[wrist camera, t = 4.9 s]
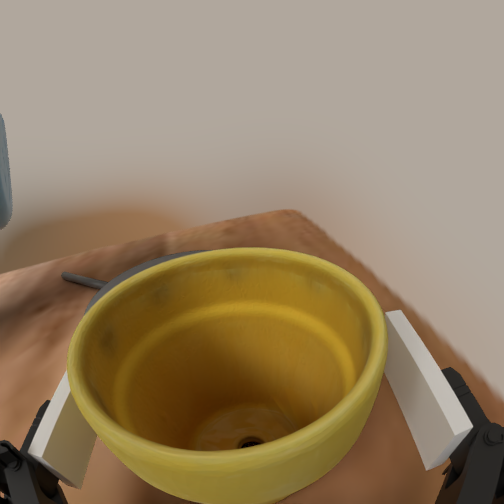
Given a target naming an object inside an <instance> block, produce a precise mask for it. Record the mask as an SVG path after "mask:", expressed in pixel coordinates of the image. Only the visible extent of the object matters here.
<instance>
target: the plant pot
mask: <svg viewBox="0 0 504 504" xmlns="http://www.w3.org/2000/svg"><path fill="white" fill-rule="evenodd" d="M387 353H388V331H387V324H386V320H385V316H384V313H383V311H382V309H381V307H380V304H379V303H378V301H377V299H376V298H375V296H374V295H373V294H372V293H371V291H370V290H369V289H368V288H367V287H366V286H365V285H364V284H363V283H362V282H361V281H360V280H359V279H358V278H356V277H355V276H354V275H352V274H351V273H349V272H348V271H346V270H345V269H343V268H341V267H339V266H337V265H335V264H333V263H331V262H328V261H326V260H323V259H321V258H318V257H315V256H312V255H309V254H304V253H300V252H295V251H290V250H284V249H274V248H257V247H248V248H229V249H219V250H213V251H206V252H201V253H196V254H191V255H187V256H183V257H179V258H176V259H172V260H169V261H166V262H163V263H160V264H158V265H155V266H153V267H150V268H148V269H146V270H143V271H141V272H139V273H137V274H135V275H133V276H132V277H130V278H128V279H126V280H124V281H123V282H121V283H120V284H118V285H117V286H115V287H114V288H112V289H111V290H110V291H109V292H107V293H106V294H105V295H104V296H102V297H101V298H100V299H99V300H98V301H97V302H96V303H95V304H94V305H93V306H92V307H91V308H90V309H89V311H88V312H87V313H86V314H85V315H84V317H83V318H82V320H81V321H80V323H79V324H78V326H77V328H76V330H75V332H74V334H73V336H72V339H71V342H70V345H69V349H68V355H67V376H68V381H69V386H70V390H71V393H72V395H73V398H74V400H75V402H76V404H77V406H78V408H79V410H80V411H81V413H82V415H83V416H84V418H85V419H86V421H87V422H88V423H89V425H90V426H91V427H92V429H93V430H94V431H95V433H96V434H97V435H98V436H99V438H100V439H101V440H102V441H103V442H104V444H105V445H106V446H107V447H108V448H109V449H110V450H111V451H112V452H113V453H114V454H115V455H116V456H117V457H118V458H119V459H120V460H121V461H122V462H123V463H124V464H125V465H126V466H127V467H128V468H129V469H130V470H131V471H133V472H134V473H135V474H136V475H138V476H139V477H140V478H142V479H143V480H144V481H146V482H147V483H149V484H151V485H152V486H154V487H156V488H158V489H160V490H162V491H164V492H166V493H168V494H171V495H173V496H176V497H179V498H182V499H185V500H189V501H193V502H197V503H202V504H274V503H276V502H279V501H281V500H283V499H284V498H286V497H287V496H289V495H290V494H292V493H294V492H297V491H299V490H301V489H303V488H305V487H307V486H309V485H310V484H312V483H313V482H315V481H317V480H318V479H320V478H321V477H322V476H324V475H325V474H326V473H327V472H329V471H330V470H331V469H332V468H334V467H335V466H336V465H337V464H338V463H339V462H340V461H341V460H342V458H343V457H344V456H345V455H346V454H347V453H348V452H349V450H350V449H351V448H352V446H353V445H354V443H355V442H356V440H357V439H358V437H359V435H360V433H361V431H362V430H363V428H364V426H365V423H366V421H367V419H368V417H369V415H370V412H371V410H372V407H373V405H374V402H375V399H376V397H377V394H378V390H379V387H380V384H381V380H382V377H383V373H384V369H385V365H386V360H387ZM251 441H252V442H258V443H260V445H256V446H252V447H247V448H241V447H242V445H243V444H245V443H247V442H251Z"/></svg>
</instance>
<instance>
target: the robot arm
mask: <svg viewBox="0 0 504 504" xmlns="http://www.w3.org/2000/svg"><path fill="white" fill-rule="evenodd" d="M11 215H12V190H11V179H10V168H9V158H8V149H7V140H6V132H5V125H4V120H3V118H2V115H1V114H0V230H2V229H3V228H4V227H5V226H6V225H7V224H8V222H9V221H10V219H11ZM385 320H386V324H387V331H388V353H387V360H386V365H385V369H384V373H385V375H386V377H387V379H388V381H389V384H390V386H391V388H392V390H393V392H394V395H395V397H396V399H397V401H398V404H399V406H400V408H401V410H402V413H403V415H404V417H405V420H406V422H407V424H408V427H409V429H410V431H411V434H412V436H413V439H414V441H415V443H416V446H417V448H418V451H419V453H420V456H421V458H422V461H423V464H424V466H425V469H426V471H427V470H429V469H432V468H434V467H437V466H439V465H441V464H443V463H444V462H445V461H446V460H447V459H448V458H450V460H451V462H452V463H451V464H450V465H449V466H448V467H447V468H446V469H445V470H444V472H443V473H442V475H445V474H446V473H447V474H446V477H445V480H444V482H443V485H442V487H441V490H440V492H439V495H438V497H437V500H436V502H435V504H504V427H501V426H500V425H499V424H496V423H491V422H489V420H488V419H487V417H486V416H485V414H484V412H483V410H482V409H481V407H480V405H479V404H478V402H477V400H476V399H475V397H474V396H473V394H472V393H471V391H470V389H469V388H468V386H466V383H465V381H464V380H463V378H462V377H461V375H460V374H459V373H458V372H457V371H455V370H454V369H453V368H451V367H449V368H446V369H443V370H440V368H439V367H438V365H437V364H436V362H435V360H434V359H433V357H432V356H431V354H430V353H429V351H428V350H427V348H426V347H425V345H424V343H423V342H422V340H421V339H420V337H419V336H418V334H417V333H416V331H415V330H414V329H413V327H412V326H411V324H410V323H409V321H408V320H407V318H406V317H405V315H404V314H403V313H402V311H401V310H396V311H391V312H386V313H385ZM96 438H97V434H96V433H95V431H94V430H93V429H92V427H91V426H90V425H89V423H88V422H87V421H86V419H85V418H84V416H83V415H82V413H81V411H80V410H79V408H78V406H77V404H76V402H75V400H74V398H73V395H72V393H71V390H70V386H69V381H68V376H67V370H66V372H65V374H64V376H63V378H62V380H61V382H60V384H59V386H58V388H57V390H56V391H55V393H54V395H53V397H52V399H51V401H50V400H47V401H46V402H45V403H44V404H43V405H42V406H41V407H40V408H39V410H38V413H37V415H36V418H35V419H34V421H33V423H32V425H31V427H30V429H29V432H28V434H27V436H26V438H25V440H24V443H23V445H22V447H21V449H20V451H18V450H17V449H16V448H15V447H14V446H13V445H12V444H11V443H10V442H9V441H6V440H3V441H0V491H1V492H2V493H4V498H2V497H0V504H68V502H67V500H66V498H65V496H64V493H63V491H62V488H61V487H60V485H59V484H58V481H59V479H60V480H61V481H62V482H63V483H65V484H66V485H68V486H71V487H75V488H78V489H81V487H82V484H83V480H84V477H85V473H86V470H87V467H88V463H89V460H90V457H91V453H92V450H93V447H94V444H95V441H96Z"/></svg>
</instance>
